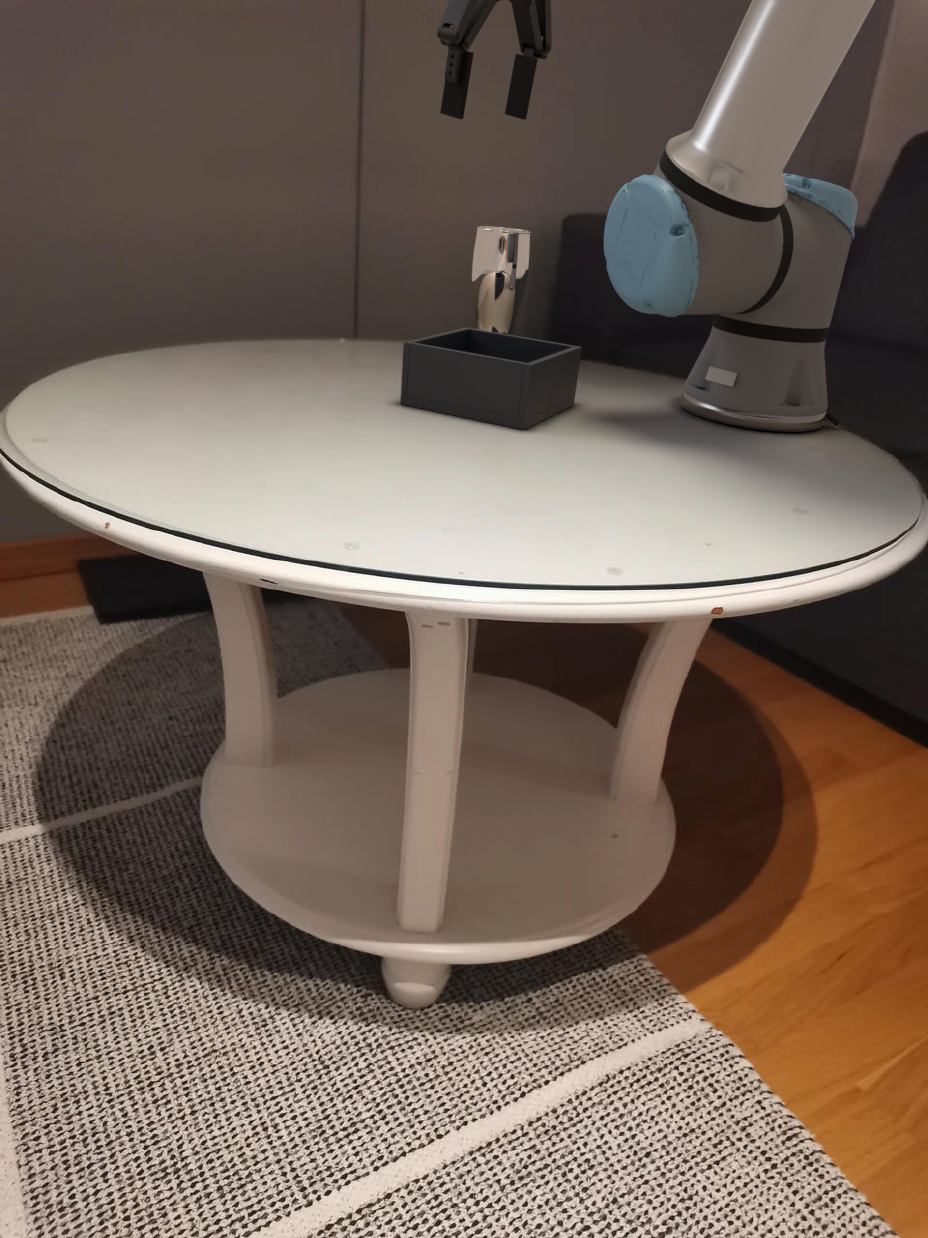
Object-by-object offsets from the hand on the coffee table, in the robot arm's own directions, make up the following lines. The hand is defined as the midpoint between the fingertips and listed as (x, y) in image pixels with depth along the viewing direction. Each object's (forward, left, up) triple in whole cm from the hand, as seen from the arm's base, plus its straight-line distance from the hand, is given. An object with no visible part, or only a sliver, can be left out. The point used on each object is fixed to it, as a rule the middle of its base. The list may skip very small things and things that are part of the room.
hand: (484, 116), depth 111 cm
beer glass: (-5, +2, -27) cm, 27 cm away
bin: (-16, +26, -27) cm, 40 cm away
